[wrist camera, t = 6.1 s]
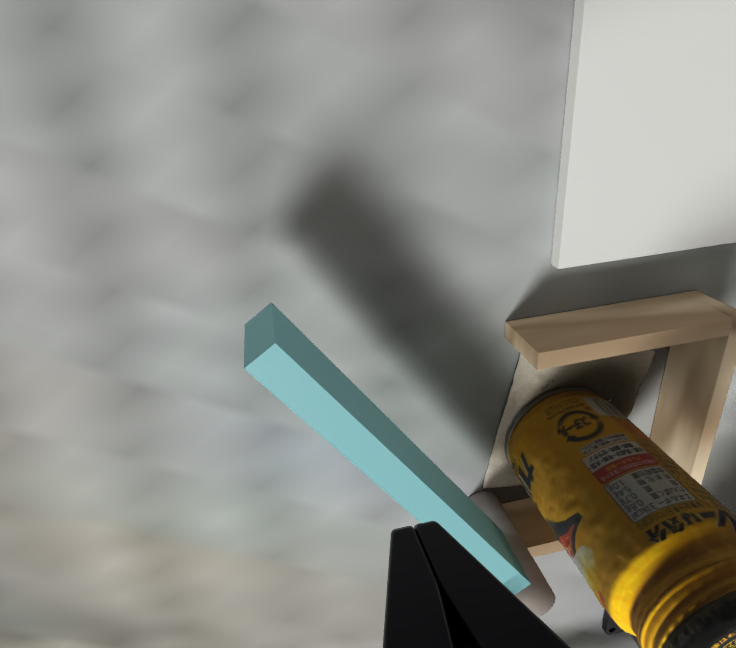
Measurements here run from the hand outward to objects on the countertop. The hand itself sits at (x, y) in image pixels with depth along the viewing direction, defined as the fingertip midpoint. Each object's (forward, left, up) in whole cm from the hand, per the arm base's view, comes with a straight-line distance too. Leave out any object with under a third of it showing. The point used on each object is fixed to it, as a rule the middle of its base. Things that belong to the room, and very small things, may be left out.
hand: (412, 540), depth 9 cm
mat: (+5, -16, -13) cm, 21 cm away
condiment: (-9, -12, -13) cm, 20 cm away
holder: (-9, -13, -13) cm, 20 cm away
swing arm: (-6, -2, -10) cm, 12 cm away
